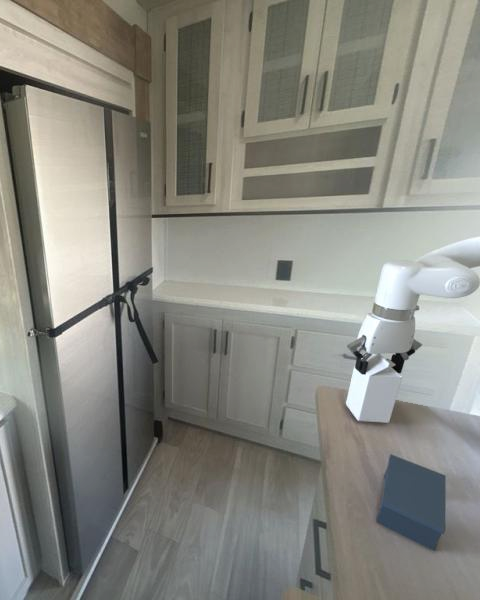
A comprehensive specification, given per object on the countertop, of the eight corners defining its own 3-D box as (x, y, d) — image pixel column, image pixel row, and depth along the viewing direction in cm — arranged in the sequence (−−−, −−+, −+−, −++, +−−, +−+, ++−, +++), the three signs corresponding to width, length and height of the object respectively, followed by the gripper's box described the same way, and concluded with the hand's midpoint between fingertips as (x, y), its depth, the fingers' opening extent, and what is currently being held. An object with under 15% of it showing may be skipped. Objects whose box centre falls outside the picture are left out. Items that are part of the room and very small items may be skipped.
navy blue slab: (383, 472, 77) (390, 453, 75) (436, 495, 71) (445, 475, 69) (374, 521, 67) (382, 500, 65) (435, 551, 62) (445, 530, 59)
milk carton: (357, 421, 90) (372, 362, 83) (345, 404, 97) (357, 348, 90) (389, 423, 89) (406, 363, 82) (374, 405, 95) (389, 348, 88)
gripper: (419, 302, 83) (402, 361, 90) (344, 307, 86) (332, 364, 92) (447, 315, 76) (426, 378, 83) (364, 319, 79) (350, 380, 85)
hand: (377, 370), depth 87 cm, fingers closed on milk carton, 7 cm apart
